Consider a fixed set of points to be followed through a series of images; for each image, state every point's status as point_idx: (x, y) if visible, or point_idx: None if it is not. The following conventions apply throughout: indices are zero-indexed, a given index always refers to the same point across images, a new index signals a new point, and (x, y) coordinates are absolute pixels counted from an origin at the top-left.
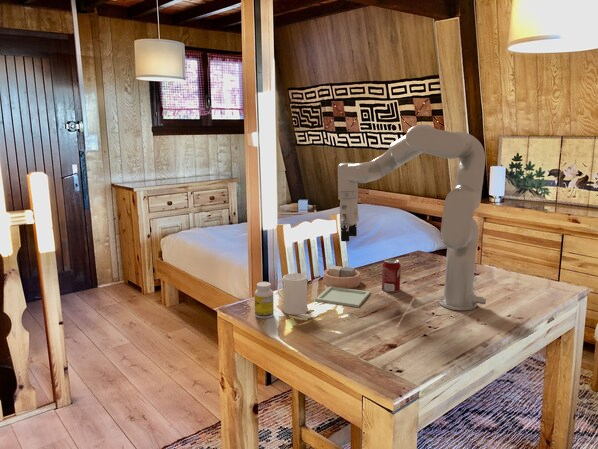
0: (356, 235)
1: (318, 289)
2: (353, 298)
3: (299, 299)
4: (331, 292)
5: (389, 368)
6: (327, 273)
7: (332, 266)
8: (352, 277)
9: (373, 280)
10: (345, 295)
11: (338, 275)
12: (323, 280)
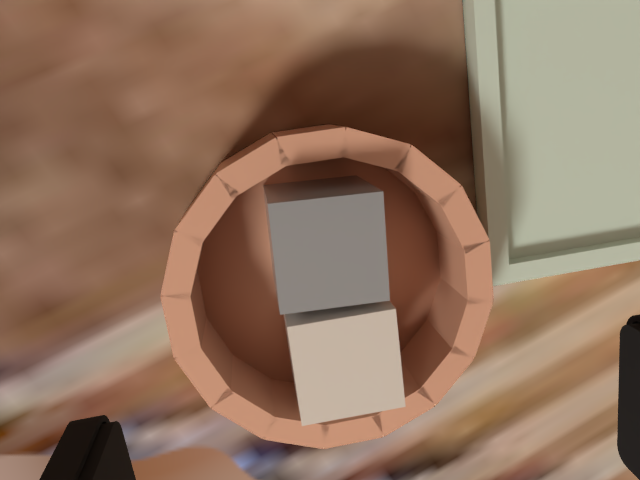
0: (87, 420)
1: (514, 340)
2: (615, 27)
3: None
4: (562, 225)
5: None
6: None
7: (329, 412)
8: (415, 152)
9: (92, 79)
10: (578, 109)
11: None
12: None
